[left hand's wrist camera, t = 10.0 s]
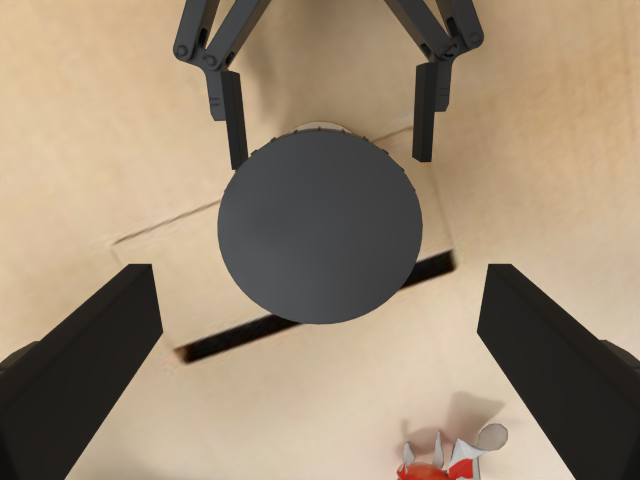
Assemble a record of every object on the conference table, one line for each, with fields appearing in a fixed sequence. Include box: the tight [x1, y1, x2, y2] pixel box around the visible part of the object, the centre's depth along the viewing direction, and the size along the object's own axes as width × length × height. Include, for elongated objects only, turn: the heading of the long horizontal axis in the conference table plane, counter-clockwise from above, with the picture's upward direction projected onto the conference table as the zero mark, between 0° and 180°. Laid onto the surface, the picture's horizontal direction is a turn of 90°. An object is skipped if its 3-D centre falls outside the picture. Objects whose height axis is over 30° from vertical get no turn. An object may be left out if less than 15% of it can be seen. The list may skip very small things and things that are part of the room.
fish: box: [397, 424, 508, 480], centre depth 43 cm, size 11×16×10 cm
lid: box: [218, 126, 423, 324], centre depth 20 cm, size 10×10×2 cm
